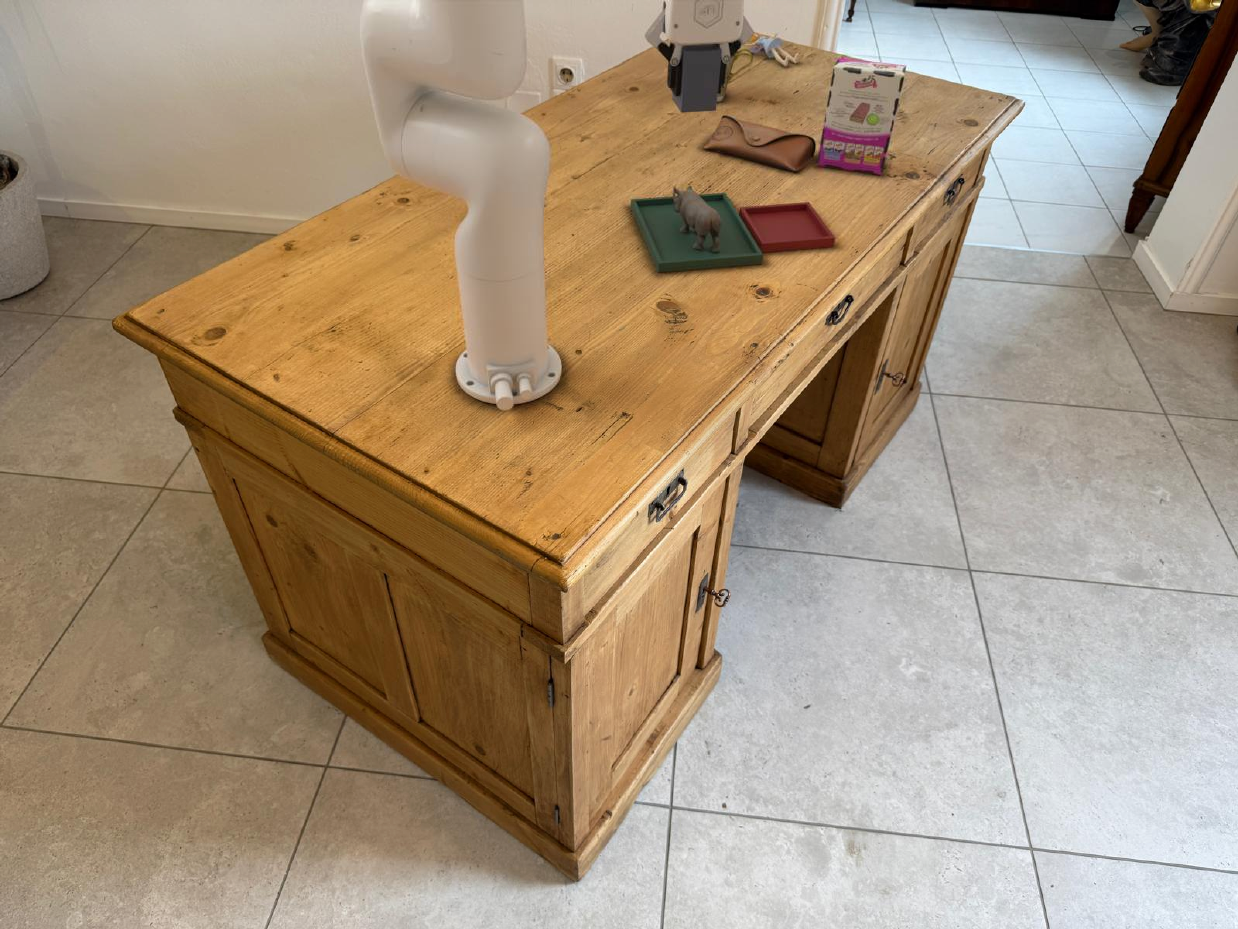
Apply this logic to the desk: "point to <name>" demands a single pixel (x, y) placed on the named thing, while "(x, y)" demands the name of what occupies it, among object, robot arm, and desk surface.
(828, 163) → the candy bar box
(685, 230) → the rhino figurine
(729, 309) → the desk surface
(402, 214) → the desk surface
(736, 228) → the green tray
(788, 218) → the burgundy tray
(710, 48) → the block
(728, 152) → the sunglasses case
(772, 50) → the fairy figurine
